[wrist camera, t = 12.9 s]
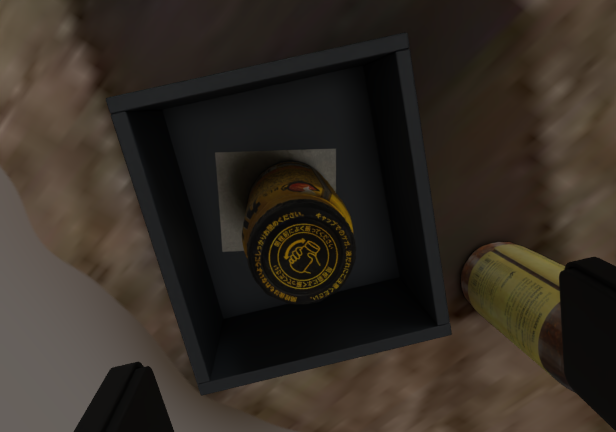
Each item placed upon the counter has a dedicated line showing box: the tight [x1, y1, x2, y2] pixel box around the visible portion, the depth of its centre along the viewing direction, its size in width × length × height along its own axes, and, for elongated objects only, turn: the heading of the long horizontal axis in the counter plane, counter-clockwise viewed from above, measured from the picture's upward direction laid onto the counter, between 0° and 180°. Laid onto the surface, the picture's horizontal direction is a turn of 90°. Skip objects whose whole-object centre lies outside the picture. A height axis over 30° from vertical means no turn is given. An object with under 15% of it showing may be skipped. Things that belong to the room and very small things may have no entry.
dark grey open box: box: [106, 32, 452, 395], centre depth 29 cm, size 18×16×9 cm
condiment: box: [215, 149, 356, 304], centre depth 26 cm, size 7×8×12 cm
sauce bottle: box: [461, 242, 576, 393], centre depth 26 cm, size 6×6×20 cm
